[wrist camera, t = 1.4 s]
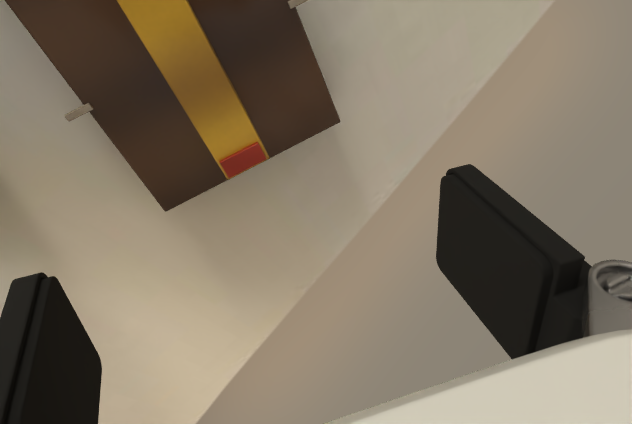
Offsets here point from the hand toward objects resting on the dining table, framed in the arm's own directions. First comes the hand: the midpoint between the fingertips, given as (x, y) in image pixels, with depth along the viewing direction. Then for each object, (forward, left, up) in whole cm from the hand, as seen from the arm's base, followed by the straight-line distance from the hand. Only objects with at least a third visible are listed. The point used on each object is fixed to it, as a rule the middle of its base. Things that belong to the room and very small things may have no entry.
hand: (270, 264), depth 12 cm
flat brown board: (0, -1, -20) cm, 20 cm away
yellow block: (0, -1, -17) cm, 17 cm away
